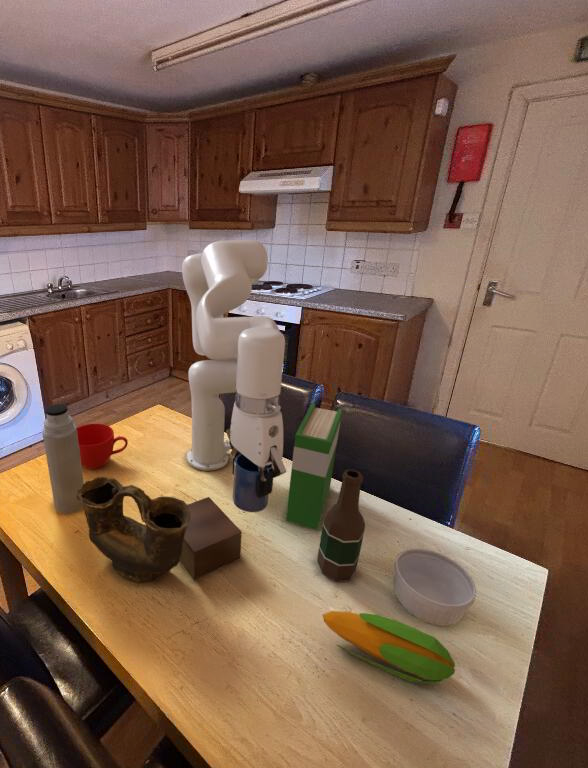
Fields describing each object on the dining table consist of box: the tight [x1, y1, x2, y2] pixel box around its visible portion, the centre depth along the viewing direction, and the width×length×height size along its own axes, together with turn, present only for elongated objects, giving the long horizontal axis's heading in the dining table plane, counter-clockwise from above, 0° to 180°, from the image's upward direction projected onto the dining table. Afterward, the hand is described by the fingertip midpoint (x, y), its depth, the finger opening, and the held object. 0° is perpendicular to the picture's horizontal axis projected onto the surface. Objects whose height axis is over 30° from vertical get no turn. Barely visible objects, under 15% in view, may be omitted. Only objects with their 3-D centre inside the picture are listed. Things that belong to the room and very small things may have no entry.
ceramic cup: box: [77, 423, 129, 470], centre depth 123 cm, size 13×17×10 cm
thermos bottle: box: [41, 403, 85, 515], centre depth 102 cm, size 8×8×28 cm
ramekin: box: [393, 547, 477, 626], centre depth 79 cm, size 13×13×7 cm
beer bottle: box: [316, 469, 366, 582], centre depth 83 cm, size 8×8×24 cm
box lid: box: [184, 496, 243, 555], centre depth 90 cm, size 13×12×1 cm
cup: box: [232, 453, 270, 513], centre depth 79 cm, size 7×7×9 cm
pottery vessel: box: [77, 476, 191, 584], centre depth 86 cm, size 25×11×20 cm, turn 64°
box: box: [180, 535, 243, 581], centre depth 92 cm, size 13×12×7 cm
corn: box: [322, 610, 456, 685], centre depth 69 cm, size 7×8×20 cm
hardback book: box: [285, 403, 343, 531], centre depth 102 cm, size 18×7×24 cm, turn 152°
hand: (251, 483), depth 79 cm, fingers closed on cup, 6 cm apart
